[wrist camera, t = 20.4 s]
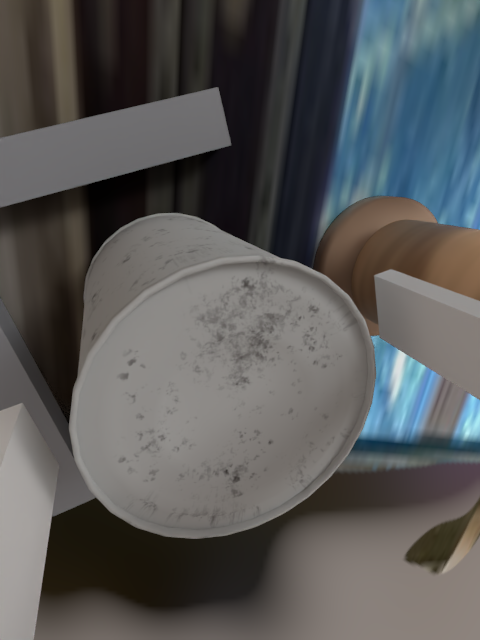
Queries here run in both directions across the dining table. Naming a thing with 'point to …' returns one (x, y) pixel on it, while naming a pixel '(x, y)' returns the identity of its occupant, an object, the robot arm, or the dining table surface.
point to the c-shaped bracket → (76, 170)
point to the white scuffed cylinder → (212, 379)
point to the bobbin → (396, 251)
